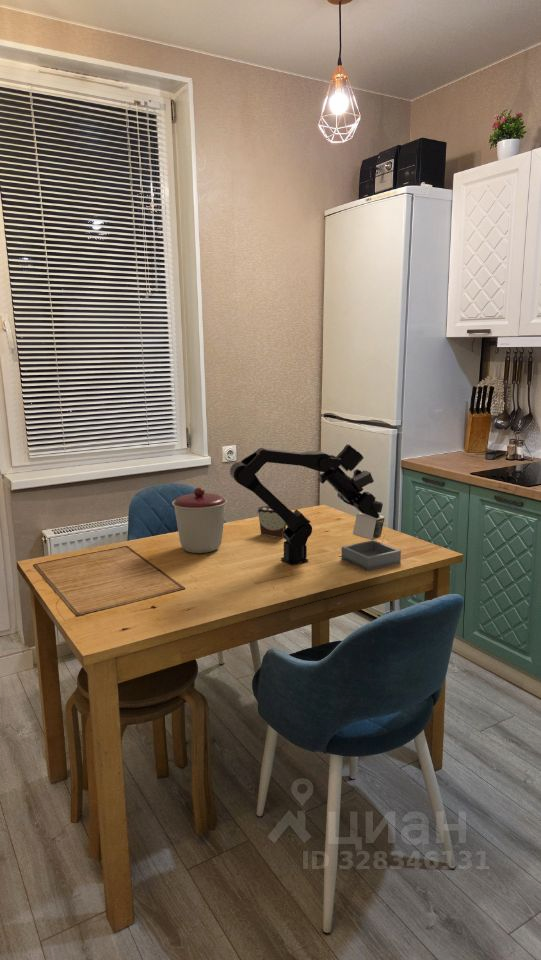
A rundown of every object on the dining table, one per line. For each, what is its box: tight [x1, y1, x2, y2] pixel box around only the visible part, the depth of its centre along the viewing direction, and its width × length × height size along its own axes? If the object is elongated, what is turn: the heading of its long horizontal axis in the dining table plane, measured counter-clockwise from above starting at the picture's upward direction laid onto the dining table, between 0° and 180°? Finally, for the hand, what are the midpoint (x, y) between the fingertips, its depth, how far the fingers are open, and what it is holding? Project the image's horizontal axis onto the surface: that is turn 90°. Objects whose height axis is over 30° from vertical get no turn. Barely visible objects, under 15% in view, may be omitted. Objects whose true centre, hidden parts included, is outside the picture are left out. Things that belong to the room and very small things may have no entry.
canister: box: [171, 487, 228, 554], centre depth 206 cm, size 18×18×21 cm
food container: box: [256, 505, 287, 539], centre depth 223 cm, size 12×6×10 cm, turn 58°
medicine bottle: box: [352, 499, 385, 541], centre depth 199 cm, size 7×7×12 cm
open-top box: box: [341, 539, 402, 571], centre depth 194 cm, size 13×13×4 cm
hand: (372, 513), depth 199 cm, fingers closed on medicine bottle, 9 cm apart
